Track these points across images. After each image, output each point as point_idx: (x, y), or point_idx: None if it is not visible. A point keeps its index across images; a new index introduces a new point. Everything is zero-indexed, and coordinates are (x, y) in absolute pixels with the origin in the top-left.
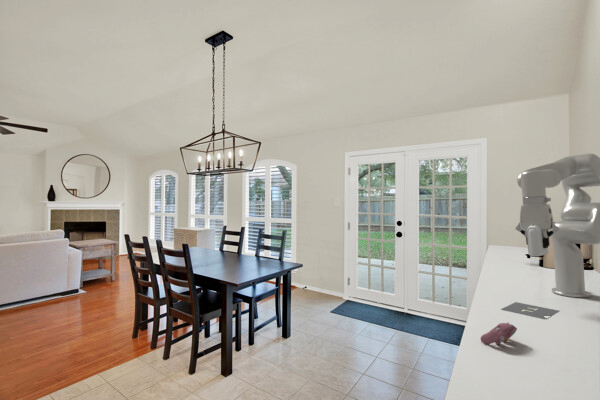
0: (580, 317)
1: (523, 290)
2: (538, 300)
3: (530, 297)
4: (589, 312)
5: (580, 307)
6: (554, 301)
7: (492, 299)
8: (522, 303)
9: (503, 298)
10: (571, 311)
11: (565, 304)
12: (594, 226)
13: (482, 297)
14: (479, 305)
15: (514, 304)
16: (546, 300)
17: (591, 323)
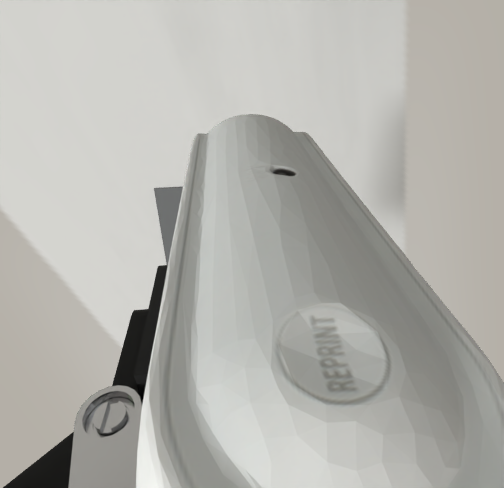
0: (370, 204)
1: None
2: (197, 72)
3: (145, 37)
4: (390, 112)
5: (358, 52)
6: (252, 26)
7: (76, 220)
8: (181, 188)
9: (88, 168)
10: (339, 152)
11: (302, 48)
12: None
13: (32, 223)
14: (108, 319)
15: (170, 225)
16: (220, 38)
17: (398, 240)
